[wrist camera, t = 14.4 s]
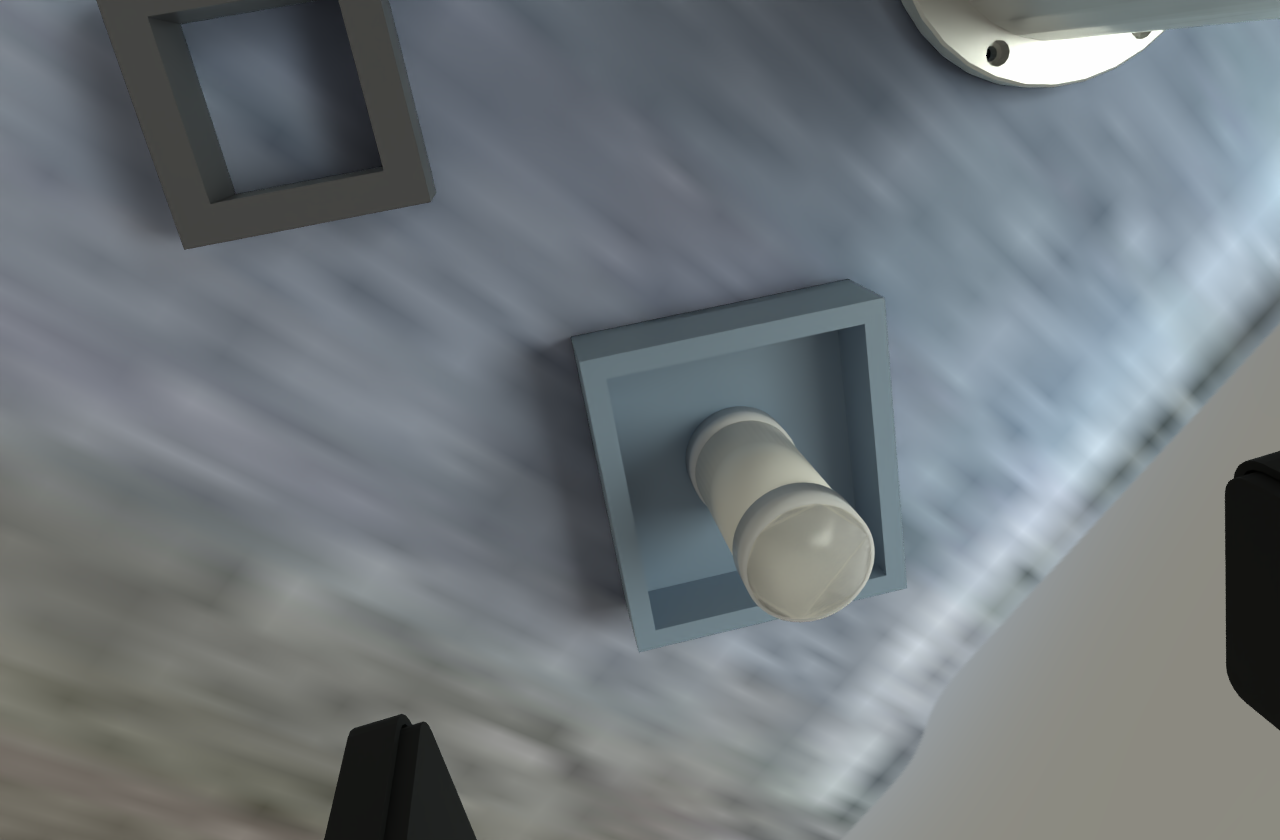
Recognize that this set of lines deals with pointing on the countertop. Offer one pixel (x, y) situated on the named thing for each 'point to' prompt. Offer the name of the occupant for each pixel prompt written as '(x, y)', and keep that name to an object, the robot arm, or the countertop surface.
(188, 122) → the frame
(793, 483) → the cylinder
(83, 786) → the countertop surface
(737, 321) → the parts tray
